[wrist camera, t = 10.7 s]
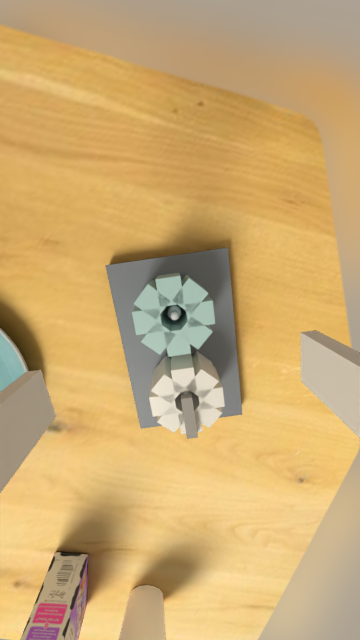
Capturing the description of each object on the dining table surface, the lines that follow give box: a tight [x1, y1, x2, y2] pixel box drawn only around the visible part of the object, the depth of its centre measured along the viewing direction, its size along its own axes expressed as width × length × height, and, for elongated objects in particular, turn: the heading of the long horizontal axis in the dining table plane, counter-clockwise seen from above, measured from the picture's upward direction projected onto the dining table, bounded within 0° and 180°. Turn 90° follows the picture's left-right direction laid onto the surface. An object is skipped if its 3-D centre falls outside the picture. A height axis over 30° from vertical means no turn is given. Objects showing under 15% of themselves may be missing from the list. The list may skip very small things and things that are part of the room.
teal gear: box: [132, 273, 215, 357], centre depth 26 cm, size 8×8×5 cm
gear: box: [149, 351, 225, 439], centre depth 28 cm, size 8×8×6 cm
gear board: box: [106, 248, 242, 428], centre depth 28 cm, size 22×14×6 cm, turn 8°
